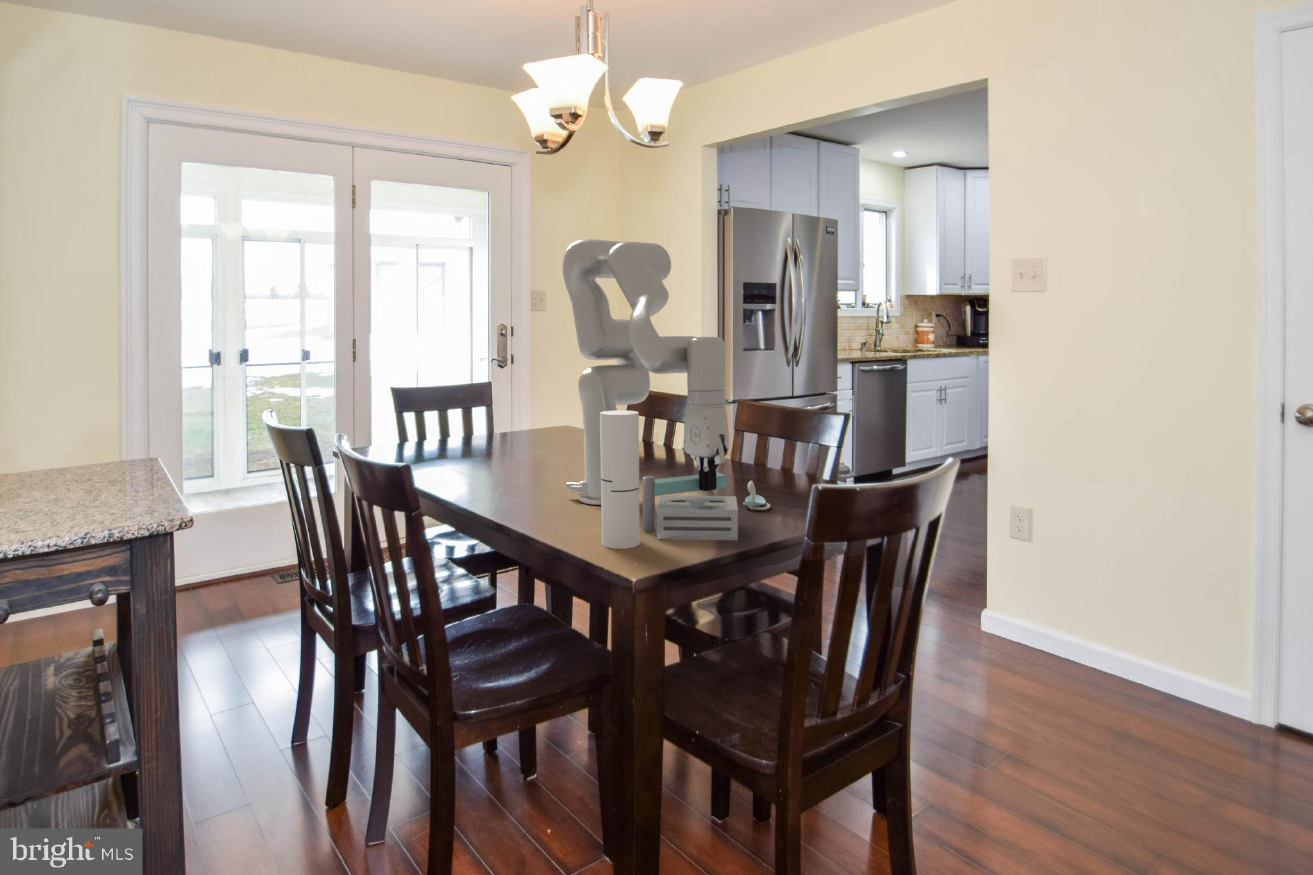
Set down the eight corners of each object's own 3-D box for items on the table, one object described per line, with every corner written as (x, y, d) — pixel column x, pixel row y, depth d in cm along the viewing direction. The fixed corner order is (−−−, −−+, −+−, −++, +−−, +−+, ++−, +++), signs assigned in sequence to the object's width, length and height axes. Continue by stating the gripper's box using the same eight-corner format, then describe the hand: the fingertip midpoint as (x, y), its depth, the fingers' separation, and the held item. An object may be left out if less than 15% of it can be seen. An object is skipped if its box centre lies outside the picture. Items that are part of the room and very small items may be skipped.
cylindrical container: (617, 536, 157) (615, 409, 153) (647, 542, 153) (646, 411, 149) (594, 544, 151) (592, 413, 147) (624, 550, 147) (623, 415, 143)
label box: (657, 539, 154) (656, 507, 153) (660, 523, 166) (660, 493, 165) (737, 540, 153) (738, 508, 152) (735, 524, 165) (735, 494, 164)
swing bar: (648, 532, 158) (647, 479, 157) (639, 528, 161) (639, 476, 160) (726, 520, 167) (727, 470, 166) (717, 517, 170) (717, 467, 169)
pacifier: (771, 505, 183) (745, 503, 185) (773, 479, 182) (747, 477, 184) (768, 513, 176) (741, 511, 178) (770, 485, 175) (742, 483, 177)
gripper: (670, 398, 164) (672, 486, 166) (712, 402, 151) (713, 498, 153) (701, 396, 168) (702, 482, 170) (744, 400, 155) (745, 493, 157)
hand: (707, 489), depth 162 cm, fingers closed
